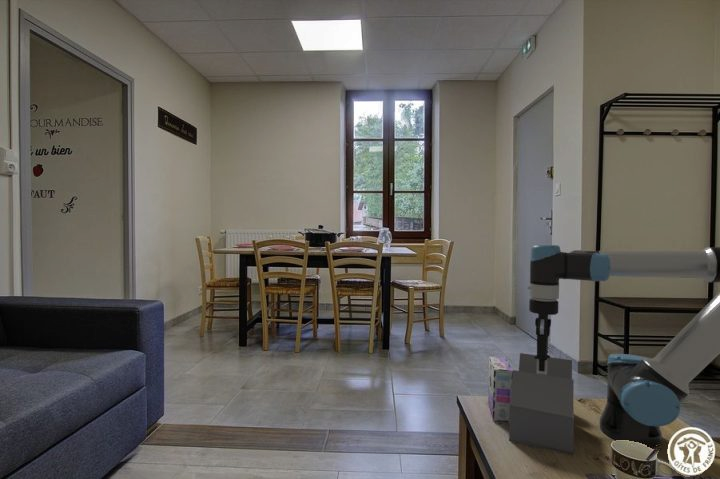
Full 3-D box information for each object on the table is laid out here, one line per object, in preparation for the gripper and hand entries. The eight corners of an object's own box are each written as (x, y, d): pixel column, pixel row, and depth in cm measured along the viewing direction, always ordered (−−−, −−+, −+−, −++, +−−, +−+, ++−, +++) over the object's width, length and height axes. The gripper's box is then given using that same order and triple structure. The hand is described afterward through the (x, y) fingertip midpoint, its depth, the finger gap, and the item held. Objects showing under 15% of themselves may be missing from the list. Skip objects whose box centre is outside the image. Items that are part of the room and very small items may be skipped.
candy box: (512, 423, 123) (513, 370, 122) (492, 421, 124) (493, 369, 124) (505, 404, 136) (506, 356, 136) (487, 402, 137) (488, 355, 137)
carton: (571, 423, 123) (572, 391, 123) (573, 455, 105) (574, 418, 105) (516, 412, 131) (517, 381, 130) (509, 440, 113) (509, 405, 113)
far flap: (571, 391, 123) (571, 391, 124) (572, 360, 128) (572, 360, 128) (517, 382, 130) (517, 382, 131) (520, 353, 135) (520, 353, 135)
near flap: (573, 380, 109) (573, 379, 109) (573, 418, 105) (573, 417, 105) (513, 370, 117) (512, 369, 116) (510, 405, 112) (510, 405, 112)
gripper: (531, 294, 121) (529, 371, 121) (527, 301, 109) (525, 386, 110) (559, 296, 117) (557, 376, 118) (557, 303, 106) (555, 391, 106)
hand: (541, 381), depth 114 cm, fingers closed
